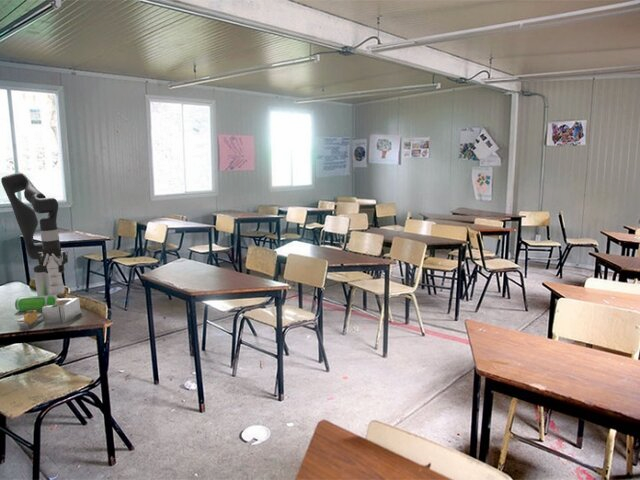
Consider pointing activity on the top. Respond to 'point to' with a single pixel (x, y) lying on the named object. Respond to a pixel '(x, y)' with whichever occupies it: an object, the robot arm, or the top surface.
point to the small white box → (57, 312)
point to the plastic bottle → (55, 277)
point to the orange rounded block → (30, 316)
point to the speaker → (33, 302)
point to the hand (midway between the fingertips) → (54, 272)
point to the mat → (23, 318)
